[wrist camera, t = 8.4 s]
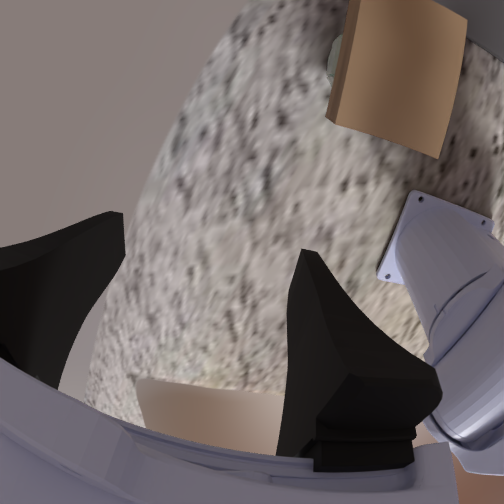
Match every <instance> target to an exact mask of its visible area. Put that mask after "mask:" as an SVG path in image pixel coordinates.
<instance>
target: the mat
mask: <svg viewBox="0 0 504 504" xmlns="http://www.w3.org/2000/svg"><path fill="white" fill-rule="evenodd" d="M432 1H434V2H436V3H438V4H440V5H442V6H444V7H446V8H448V9H449V10H451V11H453V12H455V13H456V14H458V15H460V16H462V17H463V18H465V19H467V20H468V21H467V31H466V38H467V39H469V40H471V41H472V42H474V43H475V44H477V45H478V46H480V47H481V48H483V49H484V50H486V51H487V52H489V53H490V54H492V55H493V56H495V57H496V58H497V59H499V60H500V61H502V62H503V63H504V0H432Z"/></svg>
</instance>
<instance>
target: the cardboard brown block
mask: <svg viewBox="0 0 504 504" xmlns="http://www.w3.org/2000/svg"><path fill="white" fill-rule="evenodd" d="M467 21H468V20H467V19H465V18H463V17H462V16H460V15H458V14H456V13H455V12H453V11H451V10H449V9H448V8H446V7H444V6H442V5H440V4H438V3H436V2H434V1H432V0H349V5H348V10H347V16H346V21H345V26H344V31H343V37H342V42H341V47H340V52H339V57H338V61H337V66H336V71H335V76H334V80H333V85H332V90H331V94H330V99H329V103H328V107H327V112H326V116H325V117H326V118H328V119H329V120H330V121H332V122H333V123H334V124H336V125H339V126H343V127H347V128H350V129H354V130H357V131H360V132H364V133H367V134H370V135H373V136H376V137H379V138H382V139H385V140H388V141H391V142H394V143H397V144H400V145H403V146H405V147H408V148H411V149H413V150H416V151H419V152H421V153H424V154H426V155H429V156H431V157H434V158H436V159H438V158H439V155H440V152H441V148H442V145H443V142H444V138H445V135H446V131H447V128H448V124H449V120H450V116H451V112H452V108H453V104H454V100H455V95H456V91H457V86H458V81H459V76H460V71H461V65H462V59H463V53H464V46H465V39H466V31H467Z"/></svg>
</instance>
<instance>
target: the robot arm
mask: <svg viewBox="0 0 504 504" xmlns="http://www.w3.org/2000/svg"><path fill="white" fill-rule="evenodd" d="M421 196H422V200H421V201H418V199H419V197H421ZM483 220H484V221H483ZM482 221H483V223H482ZM481 223H482V224H481ZM123 225H124V224H123V213H118V212H113V211H109V212H105V213H102V214H99V215H96V216H93V217H91V218H88V219H86V220H83V221H81V222H79V223H76V224H74V225H71V226H69V227H66V228H64V229H61V230H58V231H56V232H53V233H51V234H48V235H45V236H42V237H39V238H36V239H33V240H30V241H27V242H23V243H19V244H15V245H11V246H7V247H2V248H0V504H459V500H458V492H457V485H456V478H455V472H454V466H453V460H452V455H451V451H452V452H453V453H454V454H455V456H456V457H457V458H458V460H459V461H460V462H461V464H462V466H463V468H464V469H465V471H467V472H470V473H476V474H485V475H501V476H504V246H503V245H502V244H501V243H500V242H499V241H498V240H497V239H496V237H495V236H494V235H493V234H492V233H491V232H492V230H493V228H494V221H493V220H492V219H490V218H488V217H485V216H483V215H481V214H478V213H476V212H473V211H471V210H469V209H466V208H464V207H461V206H459V205H456V204H453V203H451V202H448V201H446V200H443V199H440V198H437V197H435V196H432V195H429V194H426V193H424V192H421V191H418V190H412V191H411V192H410V193H409V195H408V198H407V200H406V203H405V206H404V208H403V211H402V214H401V216H400V219H399V221H398V224H397V226H396V229H395V231H394V234H393V236H392V238H391V241H390V243H389V245H388V248H387V250H386V252H385V255H384V257H383V259H382V261H381V264H380V266H379V268H378V270H377V273H376V275H377V278H378V279H379V280H383V281H388V282H393V283H398V284H403V285H405V286H406V288H407V291H408V293H409V295H410V297H411V300H412V302H413V304H414V307H415V309H416V311H417V314H418V316H419V319H420V321H421V323H422V326H423V328H424V331H425V334H426V336H427V339H428V341H429V347H428V349H427V350H426V352H425V353H424V354H423V356H424V359H425V362H424V361H422V360H421V359H419V358H417V357H416V356H414V355H413V354H411V353H410V352H408V351H407V350H406V349H404V348H403V347H401V346H400V345H399V344H397V343H396V342H395V341H394V340H392V339H391V338H390V337H389V336H387V335H386V334H385V333H384V332H383V331H382V330H380V329H379V328H378V327H377V326H376V325H375V324H374V323H373V322H372V321H371V320H370V319H369V318H368V317H367V316H366V315H365V314H364V313H363V312H362V311H361V310H360V309H359V308H358V307H357V306H356V304H355V303H354V302H353V301H352V300H351V298H350V297H349V296H348V295H347V293H346V292H345V291H344V290H343V288H342V287H341V286H340V284H339V283H338V282H337V280H336V279H335V277H334V276H333V274H332V273H331V272H330V270H329V269H328V267H327V266H326V264H325V263H324V261H323V260H322V258H321V257H320V255H319V254H318V252H315V251H311V250H306V249H301V252H300V255H299V259H298V262H297V265H296V269H295V272H294V275H293V278H292V282H291V285H290V288H289V293H288V303H287V343H288V371H287V381H286V390H285V399H284V407H283V414H282V421H281V427H280V434H279V440H278V445H277V451H276V456H273V455H264V454H257V453H250V452H243V451H236V450H231V449H225V448H220V447H215V446H210V445H206V444H201V443H197V442H193V441H188V440H184V439H180V438H177V437H173V436H169V435H165V434H162V433H159V432H155V431H152V430H149V429H146V428H143V427H140V426H137V425H134V424H131V423H128V422H125V421H122V420H120V419H117V418H114V417H112V416H109V415H107V414H104V413H102V412H100V411H98V410H96V409H94V408H92V407H90V406H88V405H87V404H85V403H83V402H81V401H79V400H77V399H75V398H73V397H71V396H68V395H66V394H64V393H62V392H60V391H58V386H59V383H60V379H61V375H62V372H63V369H64V366H65V364H66V361H67V358H68V355H69V352H70V350H71V348H72V345H73V343H74V341H75V338H76V336H77V334H78V332H79V330H80V328H81V326H82V324H83V322H84V320H85V318H86V316H87V315H88V313H89V312H90V310H91V308H92V307H93V306H94V304H95V303H96V301H97V300H98V298H99V297H100V296H101V294H102V293H103V291H104V290H105V289H106V287H107V286H108V284H109V283H110V281H111V280H112V279H113V277H114V276H115V274H116V273H117V271H118V269H119V267H120V265H121V263H122V261H123V259H124V258H125V256H126V254H125V240H124V226H123ZM387 274H389V276H386V275H387ZM422 421H423V423H424V425H425V427H426V428H427V430H428V431H429V433H430V434H431V435H432V436H433V437H434V438H435V439H436V440H437V441H438V442H440V443H433V444H426V445H421V446H418V447H415V448H413V445H412V440H414V439H415V438H416V436H417V434H416V429H415V427H416V425H418V424H419V423H420V422H422Z"/></svg>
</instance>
